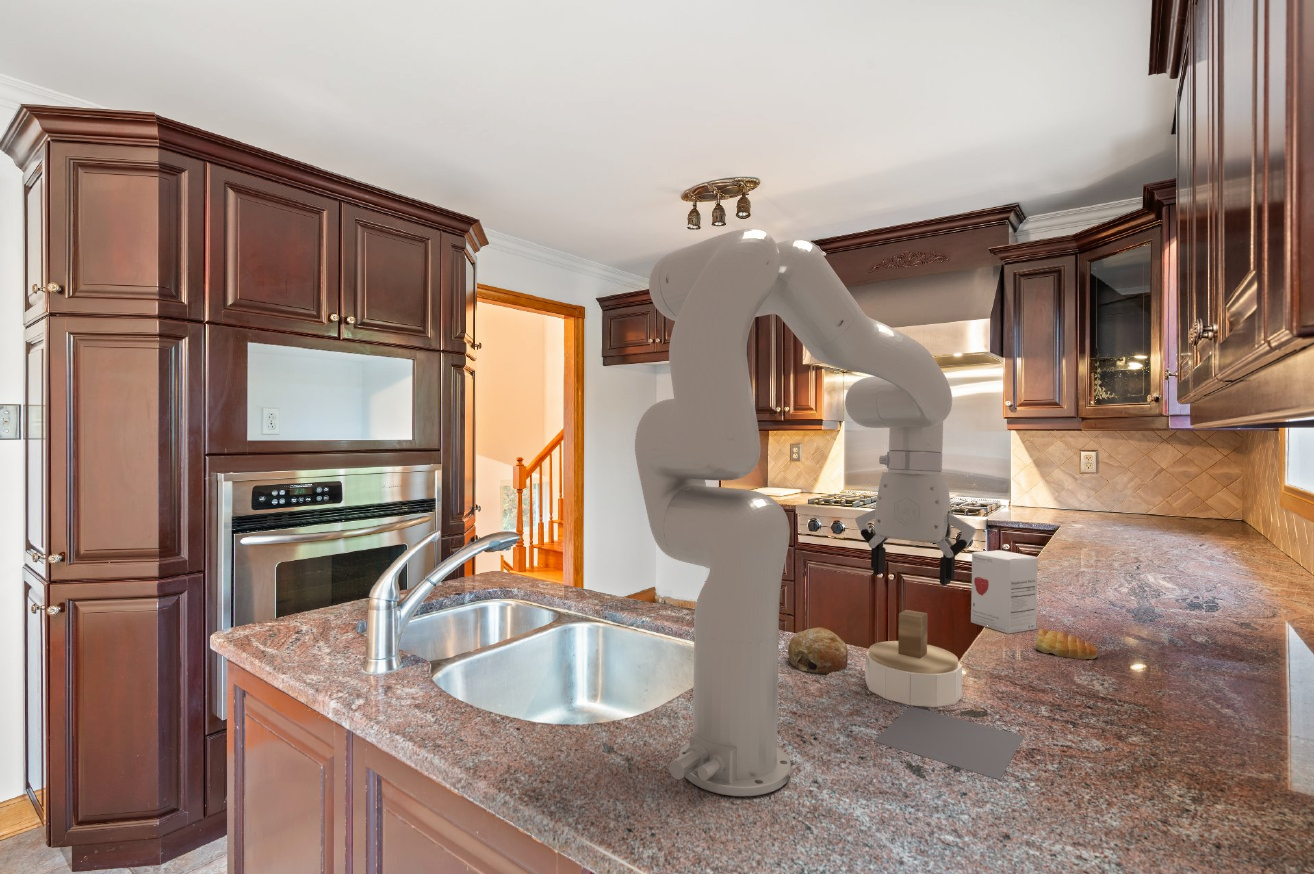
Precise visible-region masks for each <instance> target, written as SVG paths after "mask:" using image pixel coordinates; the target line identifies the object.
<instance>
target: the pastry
mask: <svg viewBox="0 0 1314 874" xmlns="http://www.w3.org/2000/svg"><path fill="white" fill-rule="evenodd" d="M1034 648H1035V649H1036V650H1037V651H1039V652H1041V653H1043V654H1048V655H1049V653H1050V654H1053V655H1055V656H1056V657H1061V658H1068V659H1074V660H1075V659H1076V660H1088V659H1089V660H1094V659H1096V658H1097V657H1098V649H1099V648H1098V647H1097V646H1095V645H1093V644H1092V643H1090V642H1088V641H1085V640H1083V639H1080V637H1077V636H1074V635H1072V634H1071V635H1070V634H1068V633H1066V632H1065V631H1063V632H1061V631H1060V632H1059V631H1057V630H1050V631H1049V630H1046V629H1045V628H1040V629H1039V630H1038V632H1037V636H1036V641H1035V645H1034Z"/></svg>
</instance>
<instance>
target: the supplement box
mask: <svg viewBox="0 0 1314 874" xmlns="http://www.w3.org/2000/svg"><path fill="white" fill-rule="evenodd" d="M1038 561H1039V557H1037V556H1035V555H1034V556H1033V555H1028V554H1022V553H1016V552H1012V551H1008V550H1001V549H998V550H996V549H995V550H986V551H974V552H972V553H971V593H970V594H971V595H970V596H971V601H970V605H971V606H970V608H971V609H970V622H971V623H973V624H975V625H979V626H982V627H985V628H988V629H992V630H994V631H998V632H1001V633H1004V634H1009V635H1010V634H1015V633H1021V632H1027V631H1033V630H1037V607H1038V605H1037V603H1038V600H1037V598H1038V597H1037V596H1038V595H1037V594H1038V564H1039V562H1038ZM987 625H988V627H987Z"/></svg>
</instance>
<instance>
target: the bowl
mask: <svg viewBox="0 0 1314 874" xmlns="http://www.w3.org/2000/svg"><path fill="white" fill-rule="evenodd" d="M865 683H866V686H867V688H868V690H869V692H872V693H873V694H875V695H878V696H879V697H881V698H883V699H885V700H889V701H893V702H897V703H901V704H904V705H907V706H908V705H909V706H913V707H928V708H929V707H931V708H940V707H945V706H951V705H956V704H957V703H958V702H959V701H960V700H961V699H962V696H963V665H962V664H961V663H960V662H959V661H958V667H957V669H955V670H953V671H951V672H947V673H938V674H926V673H914V672H907V671H902V670H897V669H893V668H890V667H887V666H884V665H882V664H879V663H877V662H876V661H874V660H873V659H872V658H871V657H870V656H869V650H868V651H866V652H865Z"/></svg>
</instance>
